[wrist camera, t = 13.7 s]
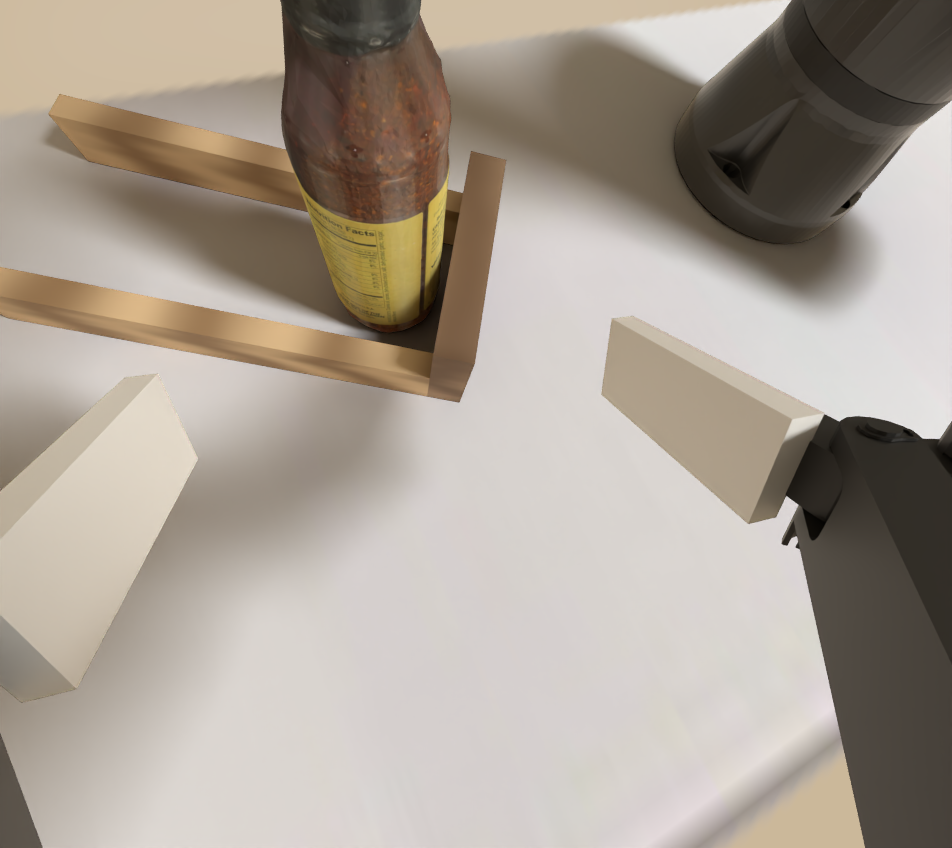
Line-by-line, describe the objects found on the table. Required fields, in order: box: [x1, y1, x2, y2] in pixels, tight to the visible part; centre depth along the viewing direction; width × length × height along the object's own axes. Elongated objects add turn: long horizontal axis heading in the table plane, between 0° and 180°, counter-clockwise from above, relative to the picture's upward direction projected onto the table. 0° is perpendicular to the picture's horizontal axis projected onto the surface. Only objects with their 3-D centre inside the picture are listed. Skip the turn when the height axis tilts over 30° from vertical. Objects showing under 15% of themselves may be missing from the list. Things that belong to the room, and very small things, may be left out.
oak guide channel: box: [0, 94, 506, 402], centre depth 23 cm, size 25×12×6 cm, turn 83°
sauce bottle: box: [280, 0, 451, 333], centre depth 17 cm, size 6×6×20 cm
